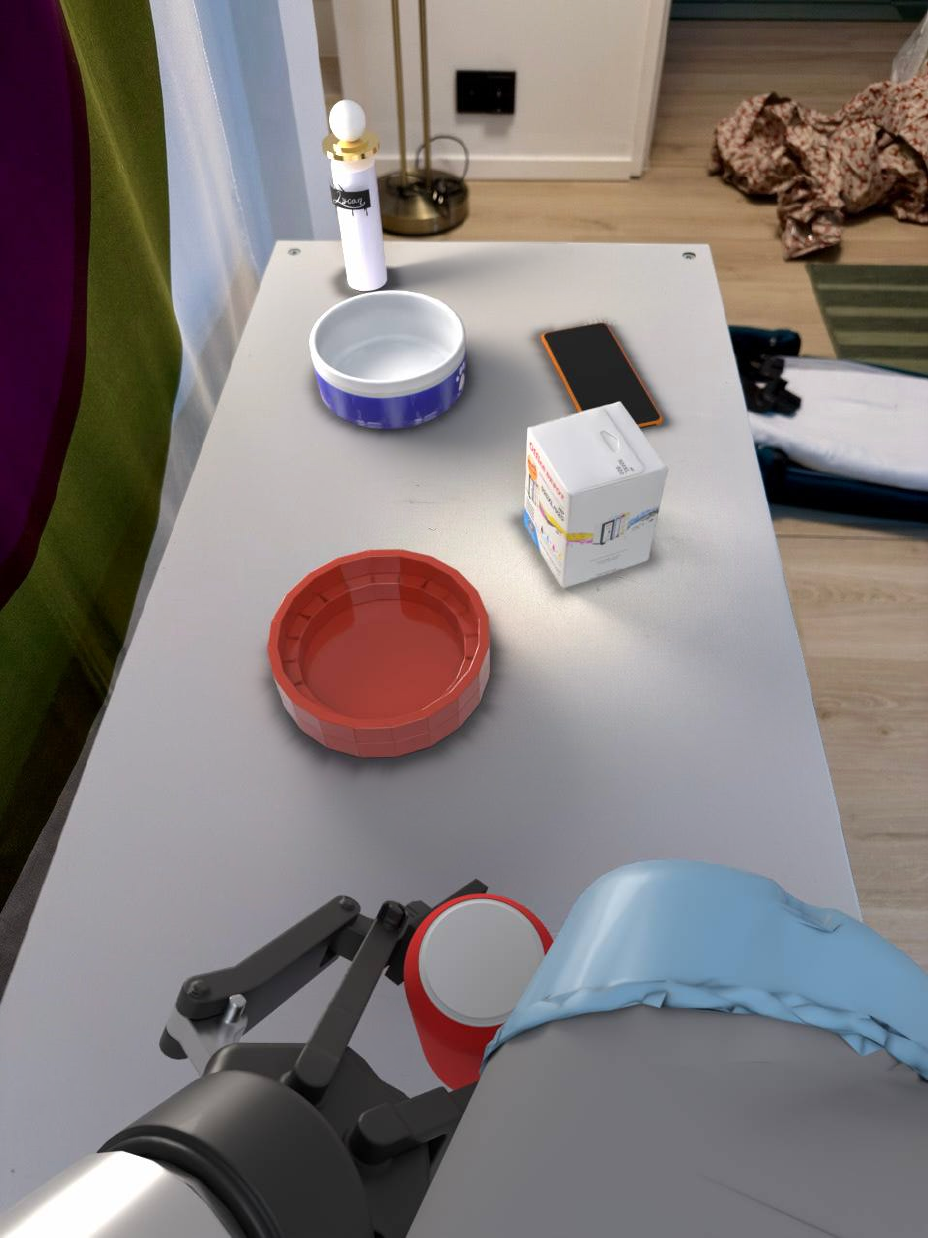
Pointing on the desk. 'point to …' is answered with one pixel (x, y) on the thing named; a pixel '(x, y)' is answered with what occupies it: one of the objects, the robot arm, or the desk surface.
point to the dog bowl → (389, 358)
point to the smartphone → (599, 371)
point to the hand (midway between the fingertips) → (529, 948)
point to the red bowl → (380, 652)
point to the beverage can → (470, 978)
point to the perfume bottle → (356, 195)
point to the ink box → (592, 493)
